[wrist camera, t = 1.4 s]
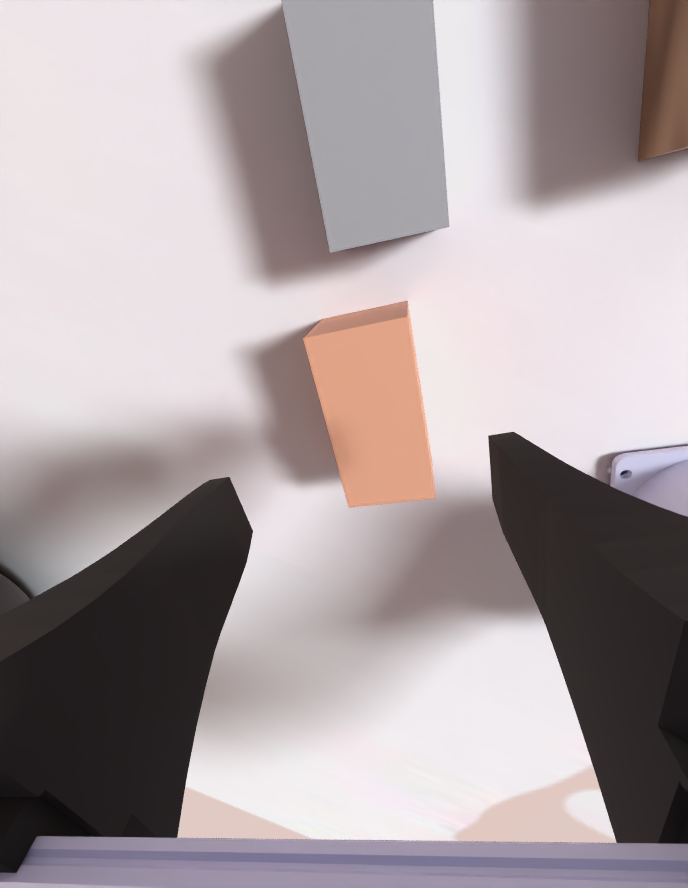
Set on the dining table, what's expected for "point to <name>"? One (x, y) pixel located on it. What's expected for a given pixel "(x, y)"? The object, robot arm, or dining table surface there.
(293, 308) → the dining table surface
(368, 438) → the terracotta brick
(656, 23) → the walnut brick
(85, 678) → the robot arm
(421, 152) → the slate-grey brick
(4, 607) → the coal bowl
